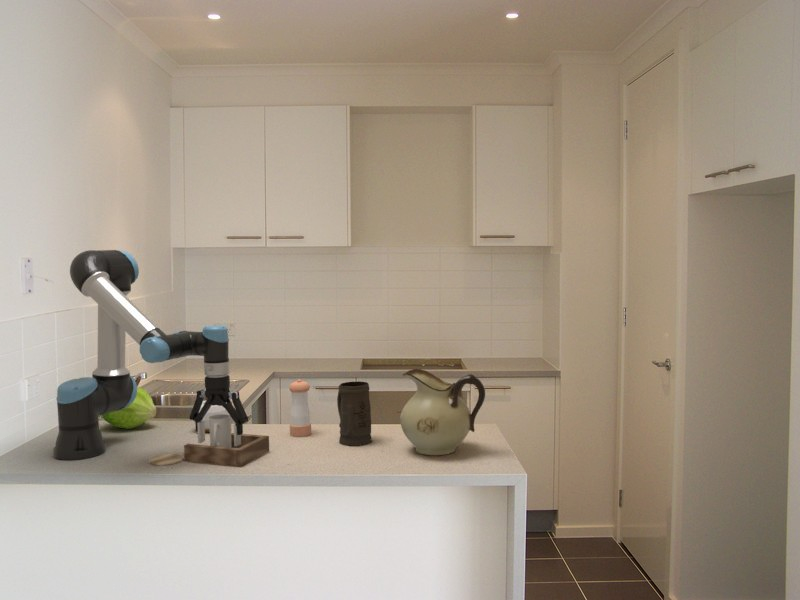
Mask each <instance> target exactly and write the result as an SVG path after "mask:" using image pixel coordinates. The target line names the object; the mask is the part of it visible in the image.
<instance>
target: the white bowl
mask: <svg viewBox="0 0 800 600" xmlns="http://www.w3.org/2000/svg"><path fill="white" fill-rule="evenodd" d="M205 402H206V400H203V402H202V405H201V408H200V410H201V409H202V407H203V406H204V403H205ZM226 403H227V402H226ZM200 410H199V412H200ZM217 414H229V413H228V412H227V410H226V409H225V408H224V407H223V406H218V405H212V406H211V407H210V408H209V410H208V411H207V413H206V414H205V416H204V417H203V420H201V421H204V422H205V433H206V432H209V433H210V429H209V417H210V416H212V415H217ZM193 421H194V420H193ZM194 423H195V421H194Z"/></svg>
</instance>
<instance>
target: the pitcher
mask: <svg viewBox="0 0 800 600" xmlns="http://www.w3.org/2000/svg"><path fill="white" fill-rule="evenodd" d="M402 377H404V378H407V379H410V380H412V382H413V383H414V384H415V385H416V391H415V393H414V394H413V396H412V397H411V398H410V399H409V400H408V401H407V402H406V403H405V405H404V407H402V410H401V413H400V417H399V419H400V427H401V429H402V431H403V434H404V436H405V437H406V439H408V442H410V443H411V444H412V445H413V446H414V447H415V451H416V452H417V453H418V454H421V455H424V456H425V455H426V456H445V455H450V454H453V453H454V452H455V451H456V448H457V447H458V446H459V445H460V444H461V443H462V442H463V441H464V440H465V438H466V437H467V436H468V434H469V432H472V433H474V432H475V430H476V429H475V421H476V418H477V415H478V412H479V411H480V409H481V408H482V406H483V404H484V402H485V398H486V389H485V385H484V384H483V383H482V381H481V380H480V379H479V378H478V377H476V376H475V375H474V374H467V375H465V376H462V377H461V378H459V379H458V380H457V381H456V382H453V383H448V382H447V381H444V380H443V379H440V378H439V377H438V376H436V375H434V374H433V373H431V372H429V371H428V370H424V369H421V368H413V369H409V370H407V371H406V372H405V373H403V374H402ZM467 384H468V385H473V386H475V387H476V389H477V392H478V398H477V401H476V403H475V406H474V408H473V409H472V412H471V411H470V408H469V407H468V405H467V404H466V402H465V401H464V400H463V399H464V398H463V396H462V395H463V394H462V391H463V390H462V389H463V387H464V386H465V385H467Z"/></svg>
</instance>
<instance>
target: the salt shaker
mask: <svg viewBox="0 0 800 600" xmlns="http://www.w3.org/2000/svg"><path fill="white" fill-rule="evenodd" d="M310 389H311V386H310V385H309V382H307V381H302V379H296V381H294V382H291V383H290V384H289V387H288V390H289V391H290V392H291V409H290V424H289V435H290V436H291V437H295V438H296V437H298V438H301V437H302V438H303V437H308V436H310V435H312V424H311V413H310V407H309V397H308V396H309V395H308V394H309V393H308V392H309V390H310Z"/></svg>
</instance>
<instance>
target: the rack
mask: <svg viewBox="0 0 800 600" xmlns="http://www.w3.org/2000/svg"><path fill="white" fill-rule="evenodd" d="M183 451H184V452H183V457H184V462H185V461H186V462H187V463H197V464H209V465H218V466H219V465H220V466H229V467H238V468H239V467H241V468H242V467H243V466H245V465H248V464H249V463H252V462H254V461H256V458H257V459H259V458H260V457H262V456H263V455H265V454H268V453H269V452H270V436H269V435H261V434H252V433H251V434H249V433H243V434H241V444H240V445H238V446H234V432H231V447H220V446H210V445H208V444H206V445H204V444H198V443H197V444H195V443H185V444H184V445H183Z"/></svg>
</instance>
